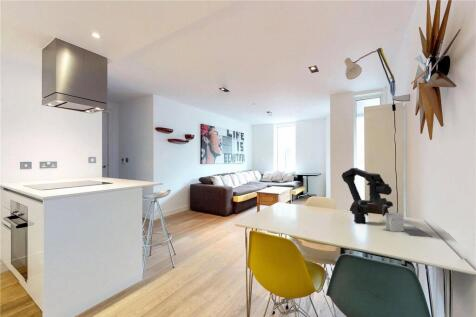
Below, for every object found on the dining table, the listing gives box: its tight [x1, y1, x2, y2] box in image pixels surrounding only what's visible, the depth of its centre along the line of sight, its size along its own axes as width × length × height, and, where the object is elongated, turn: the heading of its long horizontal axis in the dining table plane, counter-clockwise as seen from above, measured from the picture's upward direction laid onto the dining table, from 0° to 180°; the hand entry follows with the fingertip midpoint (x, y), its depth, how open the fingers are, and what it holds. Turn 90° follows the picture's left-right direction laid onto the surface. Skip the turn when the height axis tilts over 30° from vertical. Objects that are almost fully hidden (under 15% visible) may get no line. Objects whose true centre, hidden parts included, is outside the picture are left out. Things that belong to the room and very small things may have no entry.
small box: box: [384, 212, 405, 232], centre depth 133 cm, size 8×6×10 cm
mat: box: [403, 225, 433, 238], centre depth 131 cm, size 11×18×1 cm, turn 164°
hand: (375, 216), depth 136 cm, fingers open, 9 cm apart
